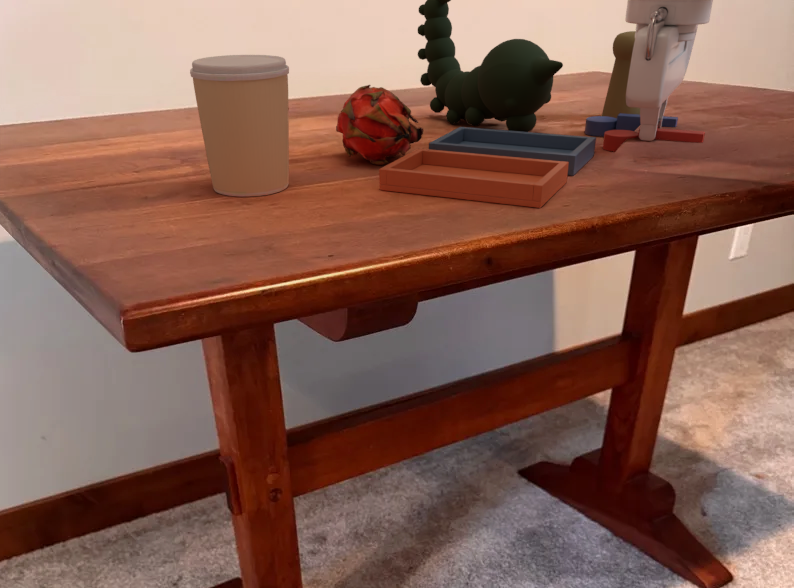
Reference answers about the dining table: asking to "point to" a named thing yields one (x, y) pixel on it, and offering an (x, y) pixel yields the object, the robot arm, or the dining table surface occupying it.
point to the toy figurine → (485, 76)
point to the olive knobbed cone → (620, 77)
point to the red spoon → (618, 137)
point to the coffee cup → (244, 122)
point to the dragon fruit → (376, 125)
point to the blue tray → (519, 145)
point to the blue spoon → (620, 123)
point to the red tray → (475, 177)
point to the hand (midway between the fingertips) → (649, 136)
